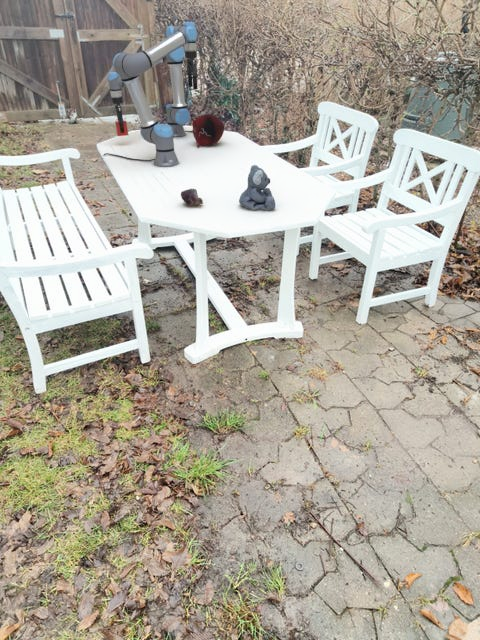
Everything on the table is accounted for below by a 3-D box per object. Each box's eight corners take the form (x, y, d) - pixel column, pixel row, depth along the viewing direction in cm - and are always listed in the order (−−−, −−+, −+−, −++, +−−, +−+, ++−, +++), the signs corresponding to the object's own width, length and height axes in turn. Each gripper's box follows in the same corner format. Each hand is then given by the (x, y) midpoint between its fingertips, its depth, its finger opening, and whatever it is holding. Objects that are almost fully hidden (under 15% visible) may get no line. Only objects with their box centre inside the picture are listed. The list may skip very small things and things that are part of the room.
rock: (196, 202, 238) (178, 205, 233) (194, 185, 234) (176, 188, 230) (205, 205, 228) (187, 208, 224) (203, 188, 224) (185, 191, 220)
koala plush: (276, 211, 223) (277, 171, 212) (240, 212, 222) (240, 172, 211) (271, 199, 237) (272, 161, 226) (237, 200, 236) (237, 162, 225)
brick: (128, 135, 331) (126, 121, 326) (118, 136, 329) (115, 122, 324) (127, 133, 335) (125, 120, 330) (117, 134, 333) (114, 121, 327)
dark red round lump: (190, 120, 341) (188, 116, 317) (221, 113, 340) (220, 109, 316) (197, 149, 348) (195, 148, 324) (227, 142, 347) (227, 141, 323)
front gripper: (201, 51, 277) (203, 90, 289) (191, 49, 296) (193, 85, 308) (189, 52, 275) (191, 90, 287) (180, 49, 294) (183, 85, 306)
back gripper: (123, 98, 311) (129, 134, 325) (120, 94, 325) (125, 129, 339) (112, 99, 309) (118, 134, 323) (109, 95, 323) (115, 129, 337)
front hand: (192, 88), depth 298 cm, fingers open, 13 cm apart
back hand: (122, 131), depth 331 cm, fingers closed on brick, 5 cm apart
